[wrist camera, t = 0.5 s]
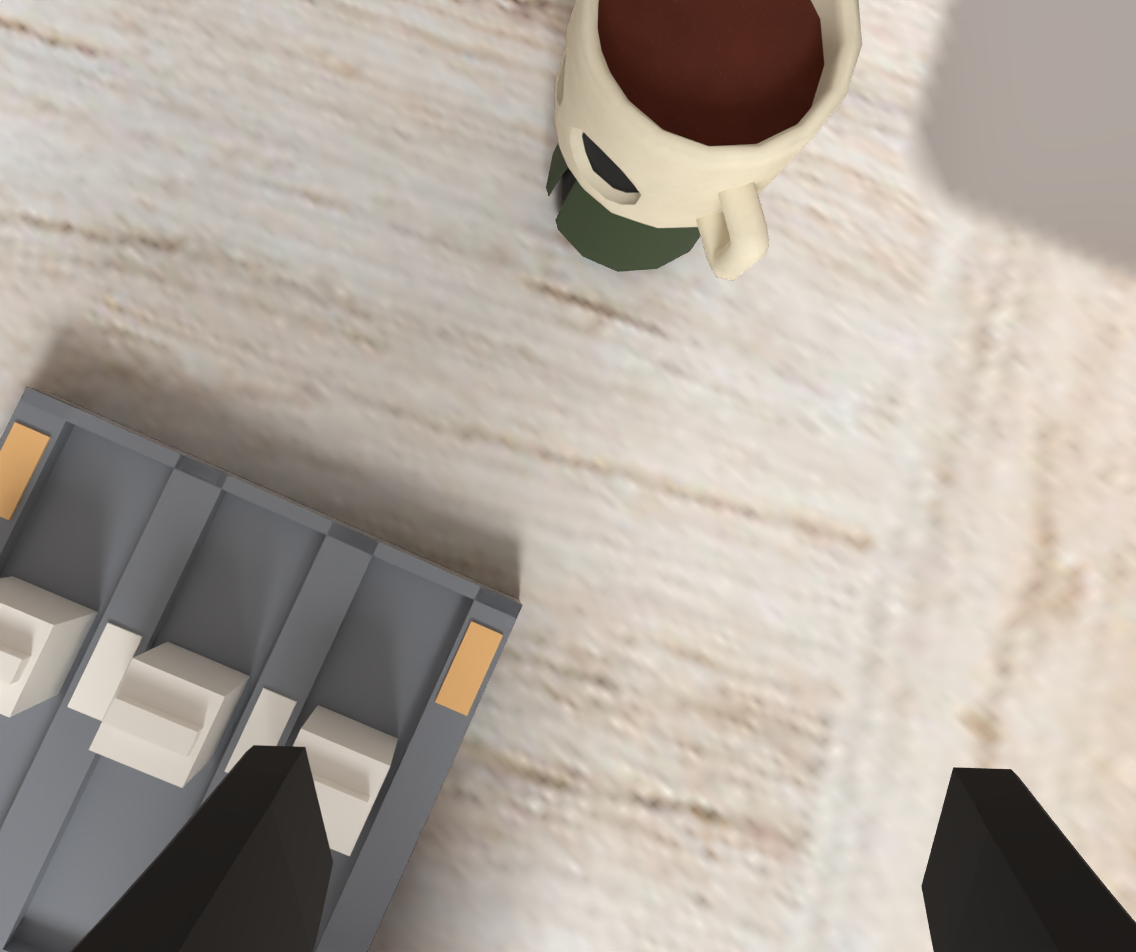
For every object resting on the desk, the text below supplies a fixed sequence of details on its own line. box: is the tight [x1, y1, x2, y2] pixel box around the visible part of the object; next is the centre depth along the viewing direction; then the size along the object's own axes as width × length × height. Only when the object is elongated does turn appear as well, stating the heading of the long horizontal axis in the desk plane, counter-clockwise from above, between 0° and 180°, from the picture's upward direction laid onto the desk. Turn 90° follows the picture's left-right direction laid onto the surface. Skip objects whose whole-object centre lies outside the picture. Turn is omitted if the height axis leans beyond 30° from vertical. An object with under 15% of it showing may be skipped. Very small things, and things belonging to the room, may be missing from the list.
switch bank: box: [0, 387, 522, 952], centre depth 33 cm, size 17×18×2 cm
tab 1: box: [0, 576, 98, 717], centre depth 30 cm, size 3×3×4 cm
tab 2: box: [89, 642, 250, 788], centre depth 30 cm, size 3×3×4 cm
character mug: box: [546, 0, 862, 281], centre depth 29 cm, size 11×7×13 cm, turn 15°
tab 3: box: [293, 705, 398, 856], centre depth 31 cm, size 3×3×4 cm
